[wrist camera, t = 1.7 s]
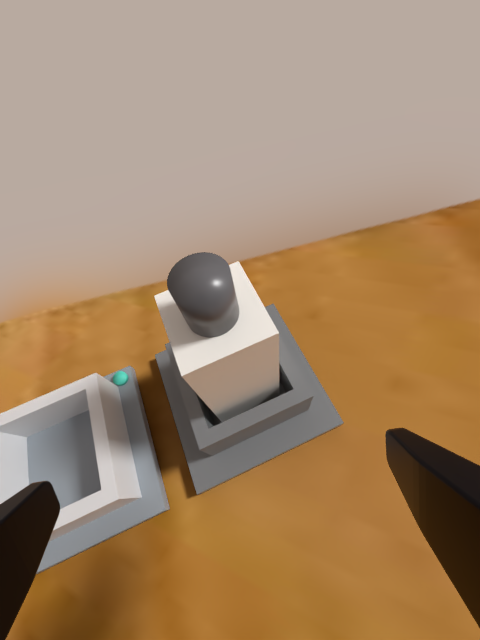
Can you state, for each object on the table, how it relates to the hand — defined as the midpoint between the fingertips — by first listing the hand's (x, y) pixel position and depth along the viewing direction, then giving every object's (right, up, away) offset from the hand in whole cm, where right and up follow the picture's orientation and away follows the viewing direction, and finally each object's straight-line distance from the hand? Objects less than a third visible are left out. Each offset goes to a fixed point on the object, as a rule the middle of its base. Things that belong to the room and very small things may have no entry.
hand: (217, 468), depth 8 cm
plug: (+1, -1, +13) cm, 13 cm away
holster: (+1, -1, +14) cm, 14 cm away
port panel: (-10, -6, +12) cm, 17 cm away
